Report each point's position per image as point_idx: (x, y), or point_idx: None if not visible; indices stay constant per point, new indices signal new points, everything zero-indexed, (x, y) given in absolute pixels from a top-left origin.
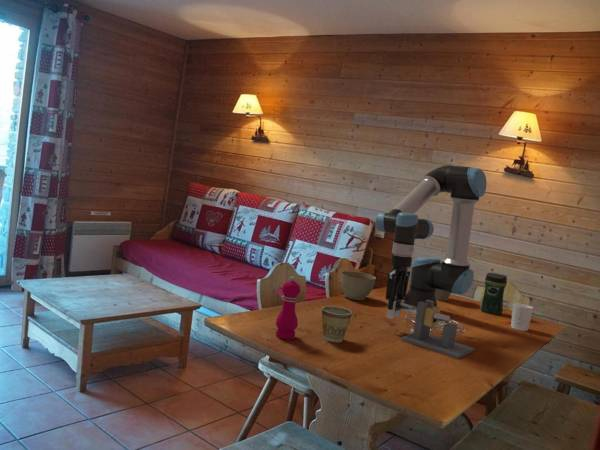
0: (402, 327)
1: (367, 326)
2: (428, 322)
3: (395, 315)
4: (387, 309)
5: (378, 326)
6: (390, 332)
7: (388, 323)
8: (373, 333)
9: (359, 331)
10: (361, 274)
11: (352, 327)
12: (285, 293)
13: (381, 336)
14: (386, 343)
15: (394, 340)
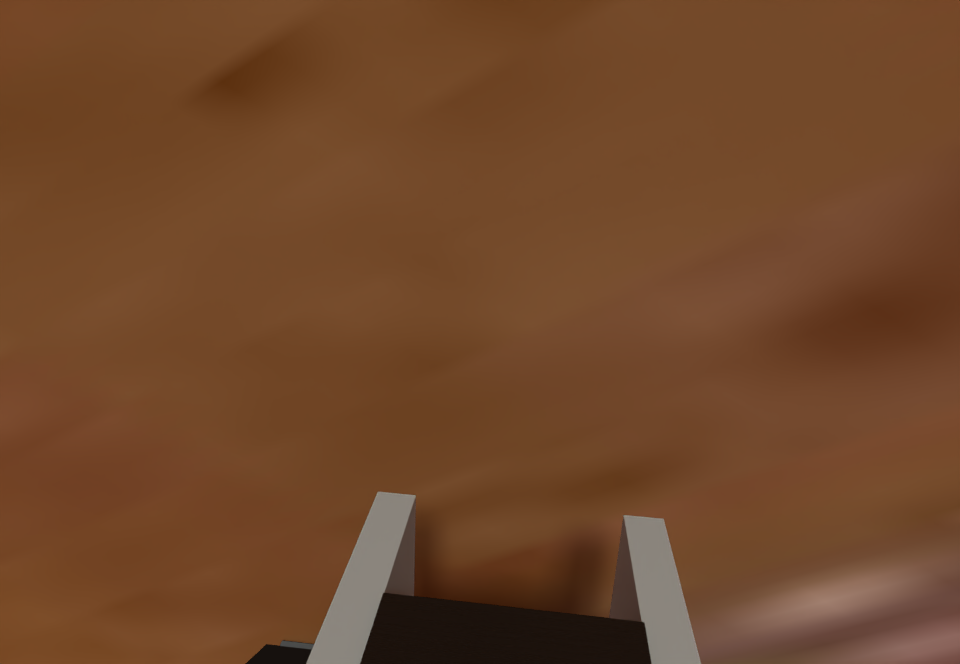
0: (844, 478)
1: (372, 130)
2: None
3: (619, 579)
4: (335, 600)
5: (546, 238)
6: (434, 465)
7: (881, 260)
8: (166, 348)
9: (38, 187)
10: None
11: (82, 8)
12: None
13: (167, 460)
14: (18, 584)
15: (194, 601)
